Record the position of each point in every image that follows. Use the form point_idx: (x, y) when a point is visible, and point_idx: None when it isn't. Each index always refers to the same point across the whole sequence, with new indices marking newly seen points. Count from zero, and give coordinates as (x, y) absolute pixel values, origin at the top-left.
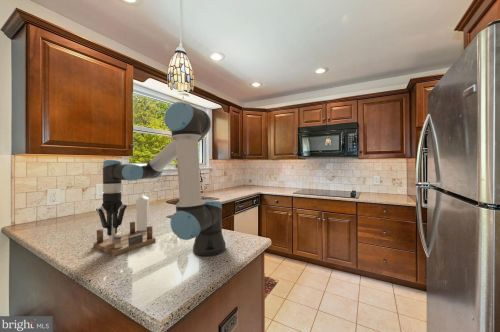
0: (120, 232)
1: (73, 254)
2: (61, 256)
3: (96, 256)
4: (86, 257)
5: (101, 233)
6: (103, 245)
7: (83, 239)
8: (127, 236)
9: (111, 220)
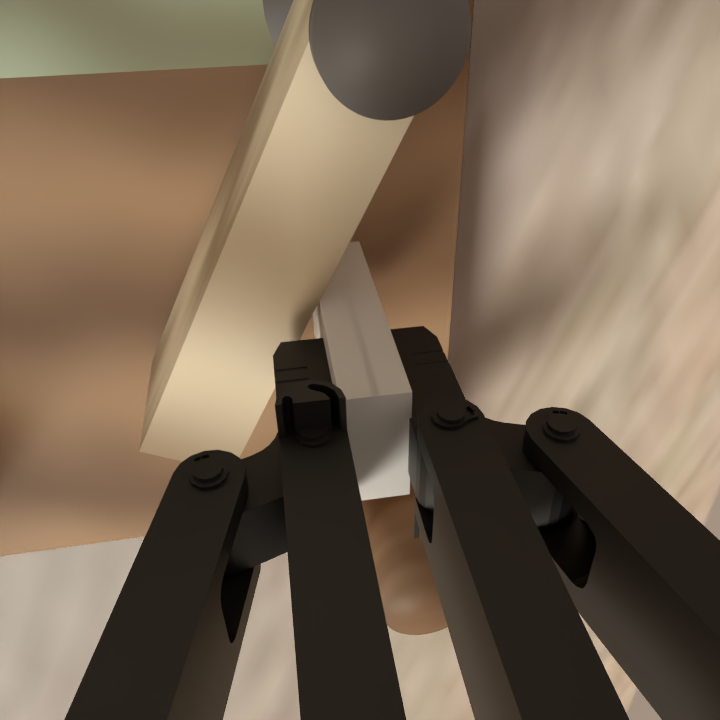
0: (174, 402)
1: (637, 386)
2: (705, 414)
3: (581, 103)
4: (647, 180)
5: (412, 537)
6: (424, 312)
7: None
8: (25, 437)
9: (488, 568)
